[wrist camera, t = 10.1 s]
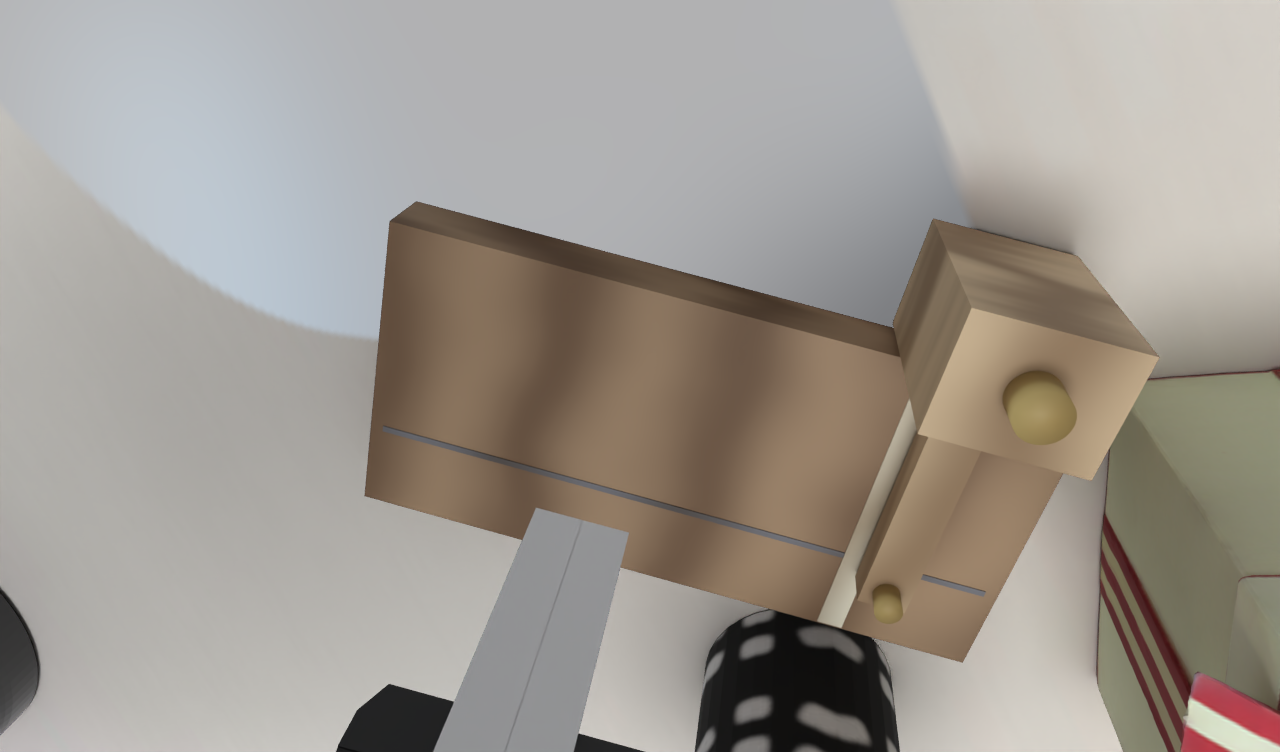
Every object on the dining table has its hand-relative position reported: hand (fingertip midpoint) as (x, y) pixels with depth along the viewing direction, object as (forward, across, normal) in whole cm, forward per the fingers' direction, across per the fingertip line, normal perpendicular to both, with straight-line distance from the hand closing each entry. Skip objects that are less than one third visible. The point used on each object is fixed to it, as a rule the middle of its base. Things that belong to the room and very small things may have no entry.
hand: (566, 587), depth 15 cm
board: (+20, +3, -8) cm, 22 cm away
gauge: (+20, +11, -4) cm, 23 cm away
